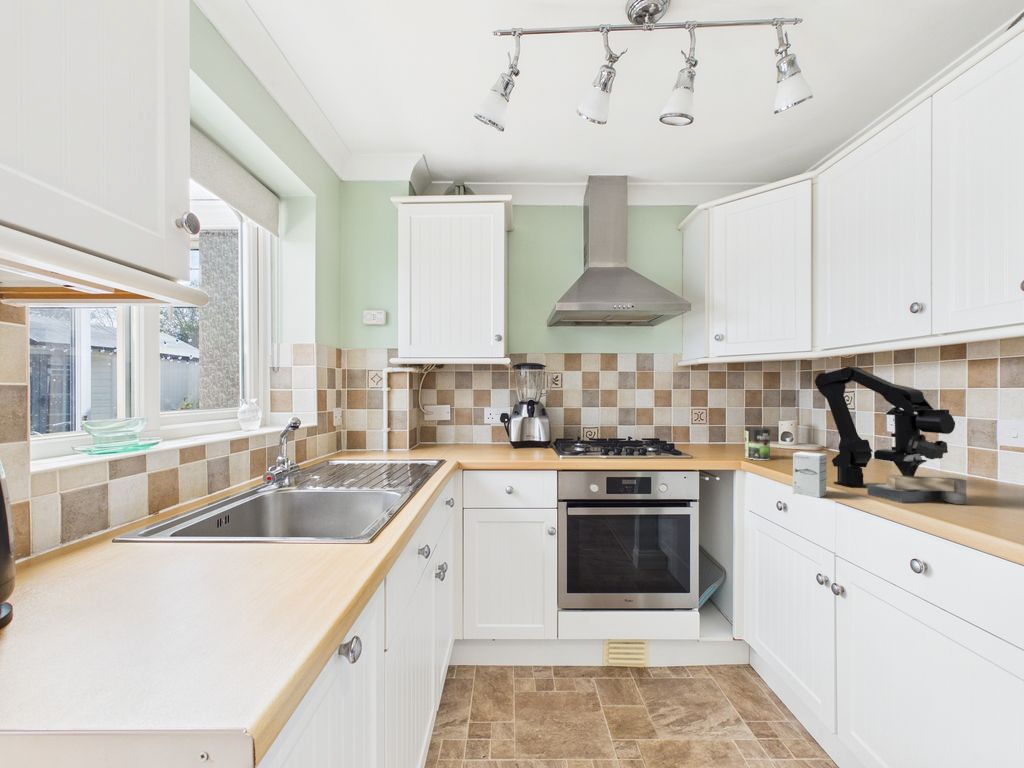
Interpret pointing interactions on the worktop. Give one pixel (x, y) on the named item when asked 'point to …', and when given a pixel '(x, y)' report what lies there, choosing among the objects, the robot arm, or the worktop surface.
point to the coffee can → (757, 443)
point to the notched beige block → (932, 486)
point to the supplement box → (809, 474)
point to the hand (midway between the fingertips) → (909, 482)
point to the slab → (904, 493)
